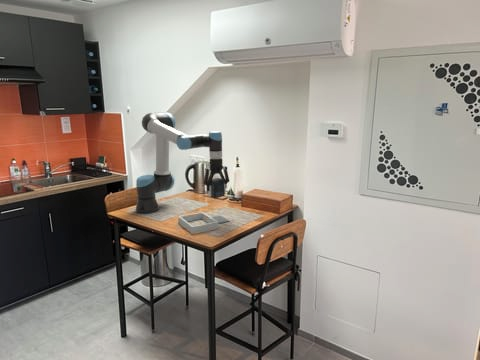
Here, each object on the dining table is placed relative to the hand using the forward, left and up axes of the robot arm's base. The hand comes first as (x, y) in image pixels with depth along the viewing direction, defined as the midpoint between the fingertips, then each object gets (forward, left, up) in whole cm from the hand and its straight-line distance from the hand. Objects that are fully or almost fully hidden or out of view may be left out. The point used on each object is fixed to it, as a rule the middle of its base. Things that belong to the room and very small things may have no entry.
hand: (217, 195), depth 209 cm
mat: (0, 0, -16) cm, 16 cm away
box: (0, 0, -1) cm, 1 cm away
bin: (+2, -14, -16) cm, 21 cm away
